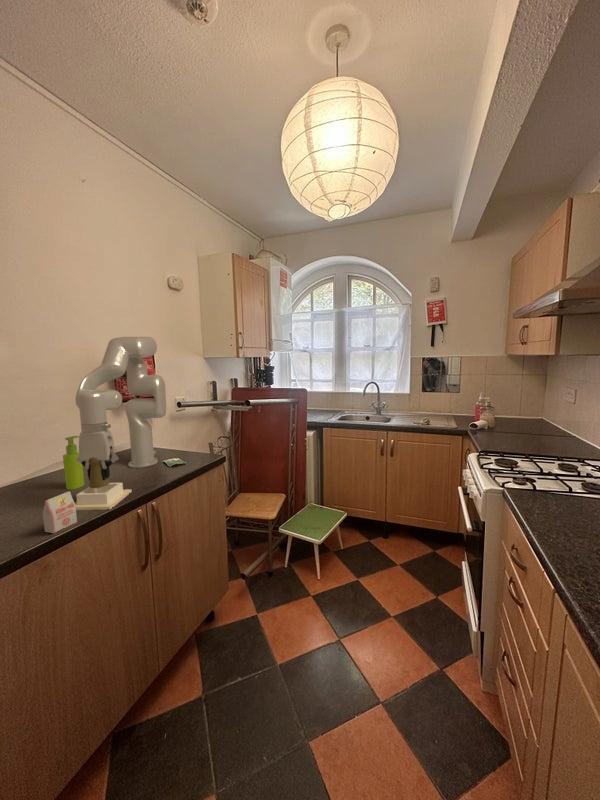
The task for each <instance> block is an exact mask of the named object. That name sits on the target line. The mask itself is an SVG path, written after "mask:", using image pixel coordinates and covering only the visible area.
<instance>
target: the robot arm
mask: <svg viewBox="0 0 600 800" xmlns="http://www.w3.org/2000/svg"><path fill="white" fill-rule="evenodd" d="M157 349H158V344H157V341H156V340H155V339H154V338H153V337H152V336H120V337H119V336H118V337H114V338H111V339H110V340H109V342H108V344H107V346H106V349H105V352H104V356H103V358H102V361H101V364H100V365H99V366H98V367H96V368H95V369H93V370H91V372H89V373H88V374H87V375H85V376H84V377H83V378H82V379H81V380H80V384H79V385H78V388H77V391H76V395H75V405H76V407H77V408H78V409H79V419H80V428H81V432H80V433H79V435H78V436H79V438H78V452H79V456H78V457H77V459H76V461H77V462H79V463H81V464H82V465H83V468H84V469H85V470H87V471H86V472H87V477H88V481H89V482H90V468H91V465H90V464H89V462H88V461H89V459H90V458H97V459H98V460H100V461H101V463H102V467H103V469H102V470H101V472H102V479H103V480H106V478H108V479H109V478H110V476H111V474H110V473H111V472H110V467H111V466H112V465H113V464H114V463H115V462H116V461H118V460H119V456H118V455H117V454H116V447H115V442H114V438H113V434H112V432H111V430H109V429H111V428H112V426H111V424H109V423H108V418H107V411H114V410H117V409H118V408H119V407H120V406H121V405H122V404H123V403H122V402H123V396H122V394H121V393H120V392H119V391H118V390H116V389H97V388H98V387H100V386H102V385H103V384H105V383H109V382H112V381H114V380H117V379H118V378H121V377H122V376H124V375H125V374H126V382H127V386H126V387H127V391H128V393H129V394H130V395H131V396H132V395H133V396H153V397H151V398H147V397H145V398H142V397H141V398H139V397H138V398H132V399H130V400H128V401H126V402H125V406H124V411H125V414H126V418H127V421H128V431H129V441H130V442H129V443H130V454H131V460H130V461H129V462H128V463H127V464H128V467H130V468H133V469H137V468H138V469H141V468H146V467H151V466H154V465H156V464H157V463H158V461H159V460H158V458H156V457H155V454H157V451H156V450H154V442H153V428H152V425H151V423H150V422H149V420H148V419H160V418H161V419H162V418H164V417H165V415H166V414H167V397H166V396H167V395H166V384H165V380H164V378H163V376H161V375H158V374H148V368H147V367H148V366H147V363H146V361H145V360H144V359H145V358H149V357H153V356H154V355H155V354H156V352H157V351H158V350H157ZM110 458H111V459H110Z"/></svg>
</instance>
